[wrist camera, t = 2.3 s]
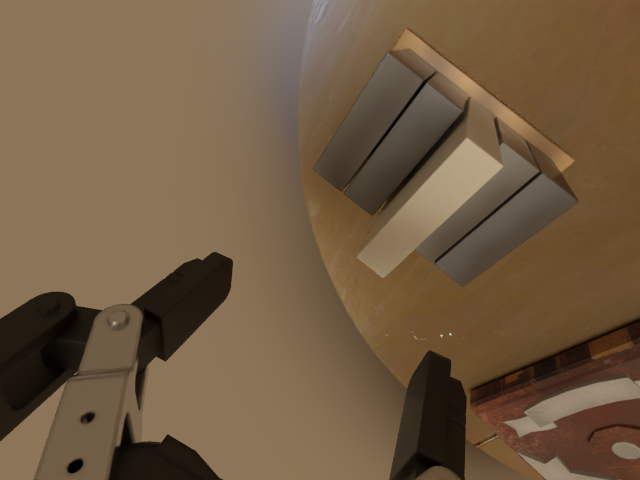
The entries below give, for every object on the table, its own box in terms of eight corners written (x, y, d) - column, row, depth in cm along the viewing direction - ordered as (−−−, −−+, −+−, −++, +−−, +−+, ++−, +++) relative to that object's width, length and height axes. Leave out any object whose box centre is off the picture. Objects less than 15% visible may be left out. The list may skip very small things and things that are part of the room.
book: (662, 301, 33) (684, 334, 29) (786, 414, 32) (826, 464, 28) (471, 383, 47) (468, 413, 43) (556, 463, 46) (561, 501, 42)
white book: (396, 182, 35) (355, 257, 23) (470, 95, 29) (466, 136, 17) (415, 196, 35) (383, 279, 23) (492, 113, 29) (504, 166, 17)
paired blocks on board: (334, 140, 36) (295, 169, 28) (407, 27, 29) (382, 23, 21) (467, 244, 36) (465, 302, 28) (573, 157, 29) (609, 202, 21)
